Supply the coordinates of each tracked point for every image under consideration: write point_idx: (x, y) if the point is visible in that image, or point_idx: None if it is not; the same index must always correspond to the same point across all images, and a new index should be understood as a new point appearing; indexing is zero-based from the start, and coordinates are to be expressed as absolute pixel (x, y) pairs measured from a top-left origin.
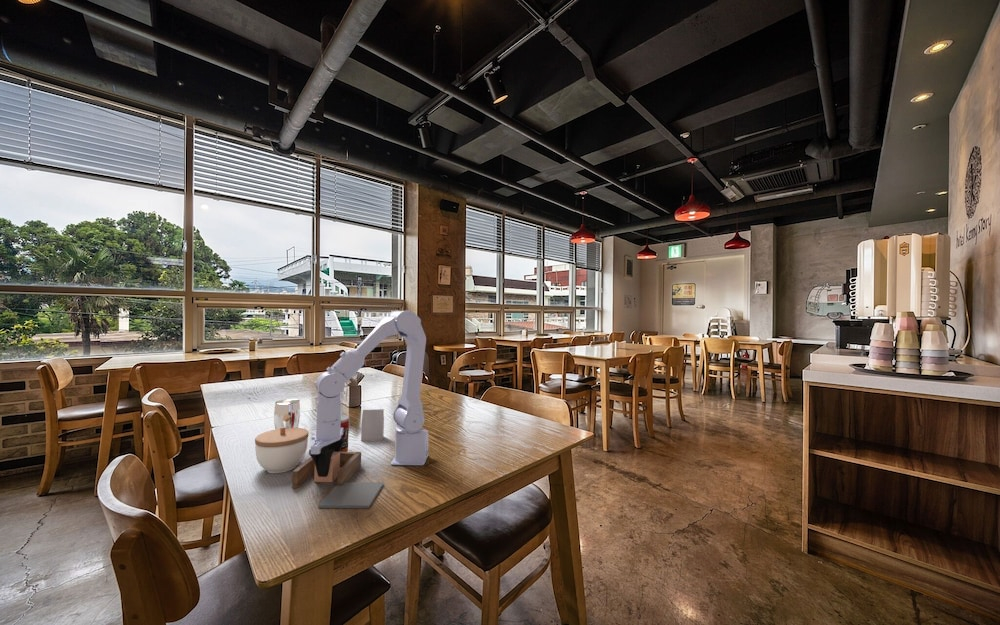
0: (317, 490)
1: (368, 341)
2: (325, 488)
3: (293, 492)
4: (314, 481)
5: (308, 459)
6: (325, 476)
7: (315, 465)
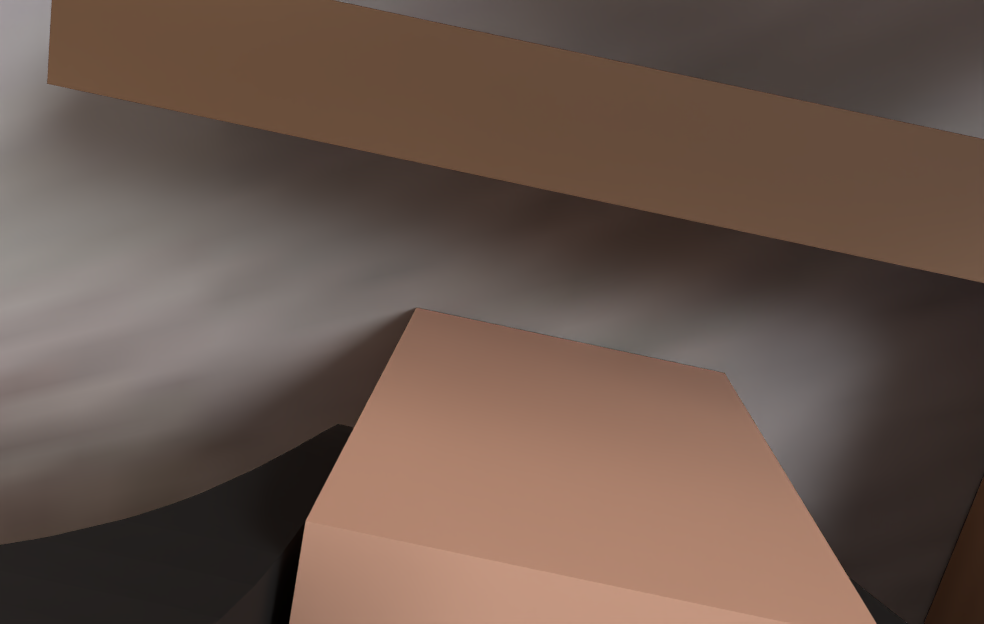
0: (103, 425)
1: None
2: None
3: None
4: (412, 315)
5: (882, 144)
6: None
7: (207, 492)
